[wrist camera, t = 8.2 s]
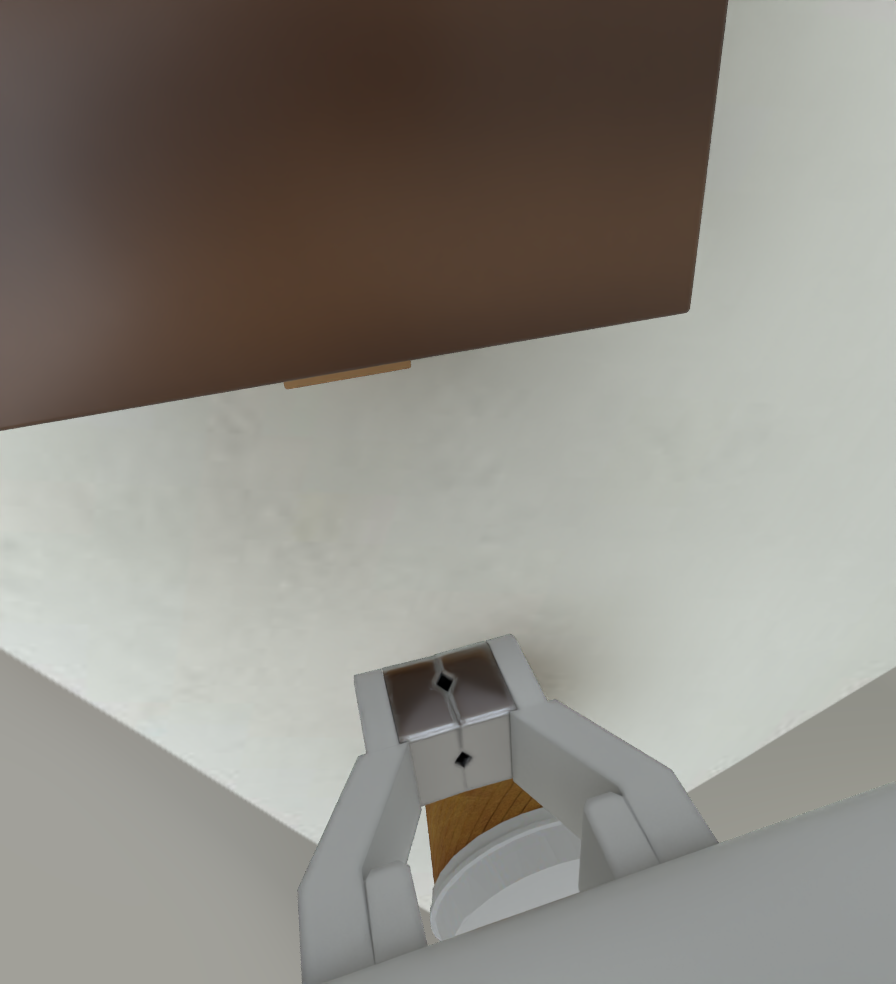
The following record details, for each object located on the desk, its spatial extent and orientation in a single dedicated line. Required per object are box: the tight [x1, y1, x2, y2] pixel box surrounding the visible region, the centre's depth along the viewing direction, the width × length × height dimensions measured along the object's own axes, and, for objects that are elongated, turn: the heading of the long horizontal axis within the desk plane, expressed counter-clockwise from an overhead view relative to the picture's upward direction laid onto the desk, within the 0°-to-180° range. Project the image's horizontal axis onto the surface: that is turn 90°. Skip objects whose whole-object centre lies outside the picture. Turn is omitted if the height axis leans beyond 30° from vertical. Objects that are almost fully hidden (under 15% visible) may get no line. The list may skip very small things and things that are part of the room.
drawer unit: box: [0, 0, 728, 431], centre depth 13 cm, size 8×14×13 cm, turn 95°
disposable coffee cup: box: [425, 778, 581, 941], centre depth 30 cm, size 10×10×12 cm
